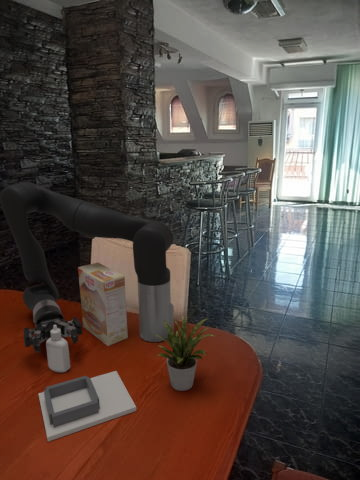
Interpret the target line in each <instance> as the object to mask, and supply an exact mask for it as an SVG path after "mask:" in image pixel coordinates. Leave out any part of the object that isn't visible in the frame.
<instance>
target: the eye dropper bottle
mask: <svg viewBox="0 0 360 480" xmlns="http://www.w3.org/2000/svg"><path fill="white" fill-rule="evenodd" d="M50 334H51V338H47V339H46V340H45V341H46V342H45V347H46V357H47V366H48V368H49V369H50V370H51V371H53V372H55V373H67V371H68V370H70V369H71V359H70V350H69V342H68V341H67V340H66V339H65V337H63V336H61V329H59V328H57V325H54V326H53V329H52V330H51V331H50Z"/></svg>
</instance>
